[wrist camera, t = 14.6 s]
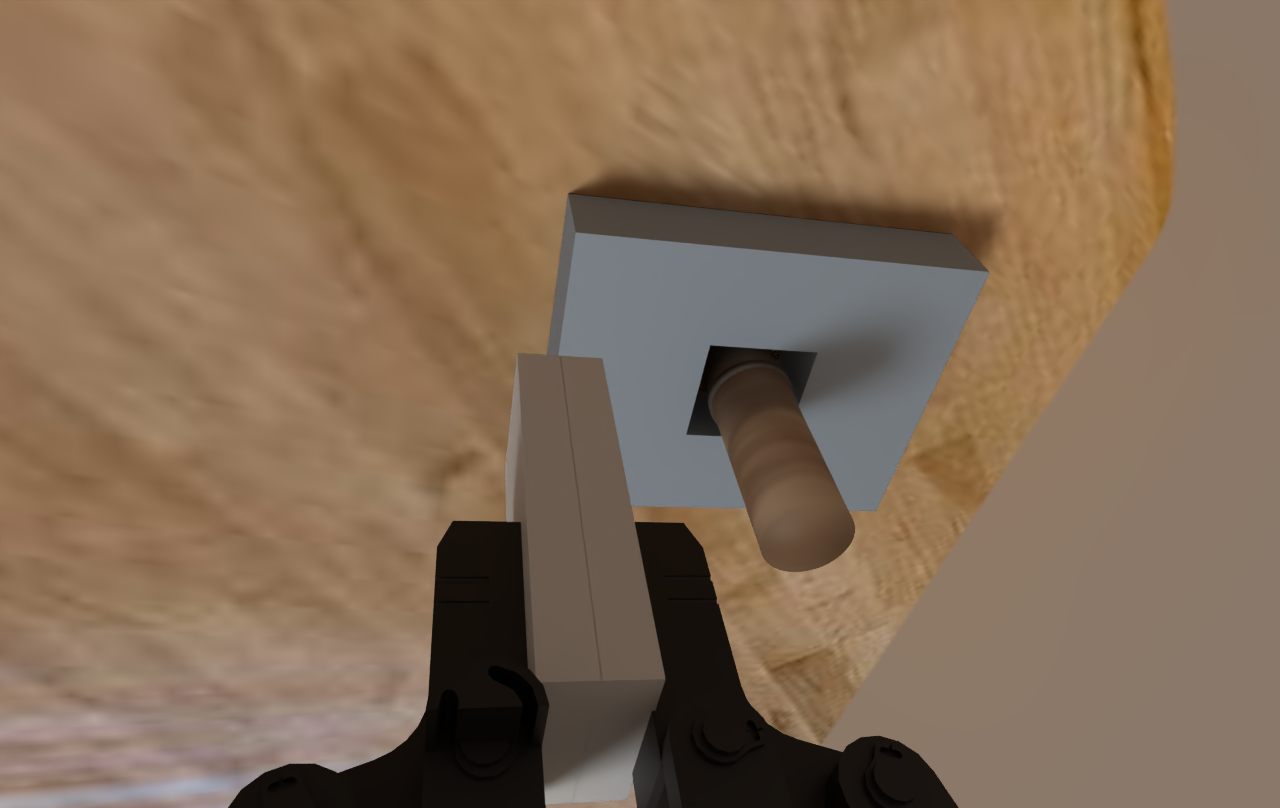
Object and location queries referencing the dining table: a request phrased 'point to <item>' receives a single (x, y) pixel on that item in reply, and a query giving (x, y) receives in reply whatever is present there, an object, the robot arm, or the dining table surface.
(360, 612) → the dining table surface
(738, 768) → the robot arm
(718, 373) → the peg
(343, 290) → the dining table surface
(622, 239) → the seat board
